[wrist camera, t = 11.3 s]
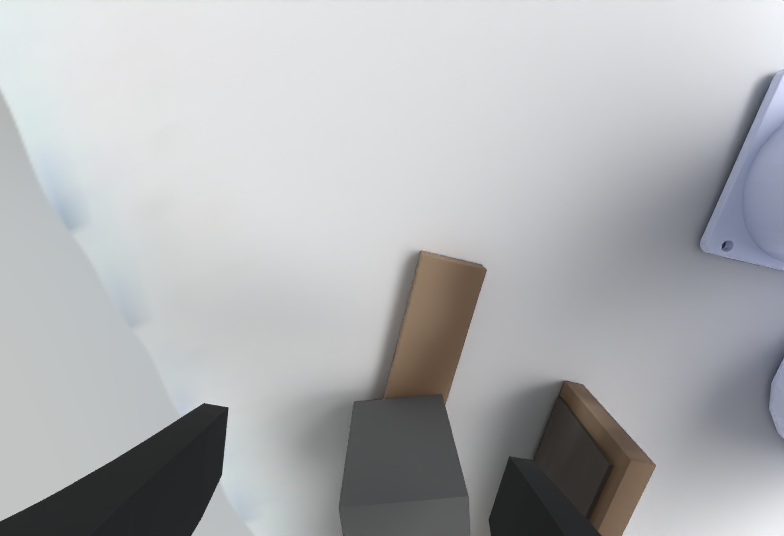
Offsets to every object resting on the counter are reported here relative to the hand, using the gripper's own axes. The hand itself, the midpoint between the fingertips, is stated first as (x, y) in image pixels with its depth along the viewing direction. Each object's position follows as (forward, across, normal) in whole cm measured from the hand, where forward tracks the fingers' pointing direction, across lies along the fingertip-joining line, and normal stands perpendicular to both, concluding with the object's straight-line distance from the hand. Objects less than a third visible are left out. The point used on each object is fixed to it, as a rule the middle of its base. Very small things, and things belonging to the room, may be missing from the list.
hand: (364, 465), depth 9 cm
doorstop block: (+8, -2, +6) cm, 10 cm away
